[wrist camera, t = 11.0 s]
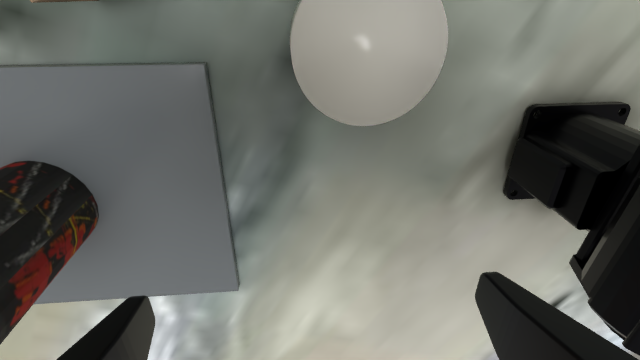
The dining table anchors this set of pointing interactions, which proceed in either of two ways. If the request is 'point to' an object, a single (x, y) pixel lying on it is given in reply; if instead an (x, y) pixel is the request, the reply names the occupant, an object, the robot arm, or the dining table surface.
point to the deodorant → (38, 232)
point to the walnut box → (58, 0)
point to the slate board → (128, 173)
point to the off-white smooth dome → (367, 56)
